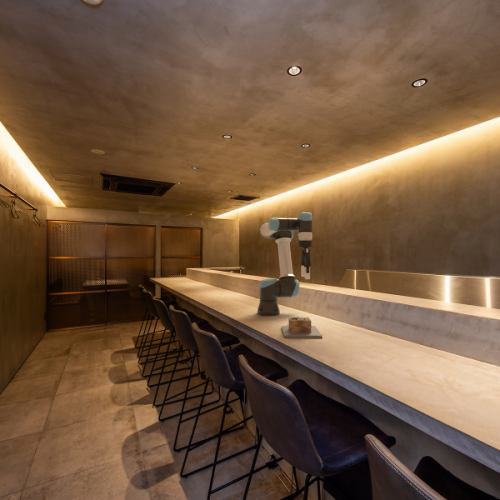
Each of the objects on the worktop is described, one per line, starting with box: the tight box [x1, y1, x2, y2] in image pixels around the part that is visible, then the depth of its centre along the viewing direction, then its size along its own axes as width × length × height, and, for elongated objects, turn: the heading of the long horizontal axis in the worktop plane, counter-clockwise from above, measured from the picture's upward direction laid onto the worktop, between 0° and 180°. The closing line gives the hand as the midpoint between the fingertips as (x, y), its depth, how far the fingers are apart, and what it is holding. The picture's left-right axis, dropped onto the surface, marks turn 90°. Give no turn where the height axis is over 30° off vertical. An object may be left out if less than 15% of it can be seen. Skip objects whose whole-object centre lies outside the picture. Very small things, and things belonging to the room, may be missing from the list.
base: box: [281, 316, 323, 339], centre depth 148 cm, size 18×18×8 cm
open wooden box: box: [288, 316, 312, 332], centre depth 148 cm, size 10×7×6 cm
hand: (305, 278), depth 163 cm, fingers open, 13 cm apart
